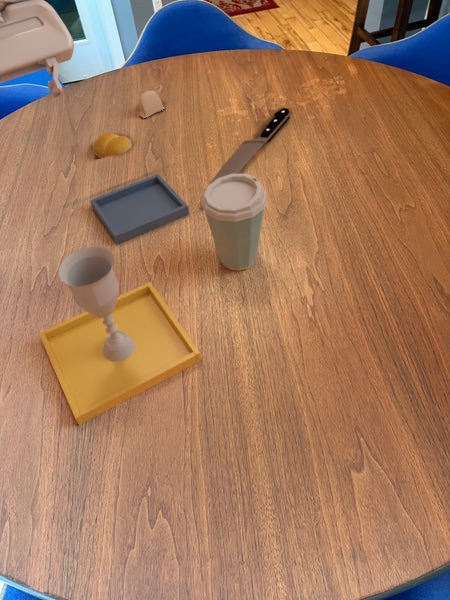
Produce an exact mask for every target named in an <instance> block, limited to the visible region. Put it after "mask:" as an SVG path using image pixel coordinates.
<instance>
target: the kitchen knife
mask: <svg viewBox="0 0 450 600" xmlns="http://www.w3.org/2000/svg"><path fill="white" fill-rule="evenodd" d="M290 113H291V112H290V109H288V108H287V107H283V108H281V109H279V110H278V111H275V112H274V113H273V118H272V119H271V120H270V121H269V122H268V123H267V125H266V126H265V128H264V129H263V130H262V132H261V133H260V135H259V137H257V138H253V139H245V140H243V141H242V143H241V145H240V146H239V147H238V148H237V149H236V150H235V152H233V154H232V155H231V156H230V158H228V160H226V162H225V163H224V164H223V166H222V167H221V168H220V169H219V171H218V172H217V173H216V175H215V176H214V177H213V179H212V180H211V182H210V184H211V183H212V182H214V181H215V180H216V179H218V178H220V177H223V176H226V175H229V174H240V172H241V171H242V170H243V169H244V168H245V166H247V164H248V163H249V162H250V161H251V160H252V159H253V157H254V156H255V155H256V154H257V153H258V152H259V150H261V148H262V147H263V146H264V145H266V144H267V142H271V141H272V139H274V137H275V136H276V135H277V134H278V133H279V131H281V129H282V128H283V127H284V126H285V125H286V124H287V122H288V121H289V120H290V118H291V114H290ZM210 184H209V185H210ZM199 210H200V211H201V210H203V207H202V205H201V204H200V208H199Z"/></svg>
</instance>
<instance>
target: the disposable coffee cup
mask: <svg viewBox="0 0 450 600" xmlns="http://www.w3.org/2000/svg"><path fill="white" fill-rule="evenodd" d="M211 182H212V181H211ZM211 182H210V183H211ZM267 201H268V195H267V192H266V190H265V189H264V186H263V184H262V182H261V181H260V179H258V178H257V177H256V176H254V175H251V174H248V173H238V174H229V175H226V176H223V177H220V178H218V179H216V180H215V181H214V182H212V183H211V184H208V185H207V187H206V188H205V189H204V191H203V194H202V196H201V198H200V206H201V205H202V207H203V208H202V210H203V212H204V214H205V217H206V220H207V223H208V226H209V229H210V232H211V235H212V239H213V242H214V246H215V248H216V252H217V254H218V257H219V260H220V262H221V264H222V265H223V266H224V267H225V268H227V270H230V271H237V272H239V271H243V270H247V269H249V268H250V267H252V266H253V265H254V264H255V262H256V260H257V257H258V254H259V253H258V252H259V246H260V245H259V244H260V238H261V233H262V225H263V219H264V212H265V209H266V204H267Z"/></svg>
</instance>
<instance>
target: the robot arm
mask: <svg viewBox="0 0 450 600" xmlns="http://www.w3.org/2000/svg"><path fill="white" fill-rule="evenodd" d="M74 49H75V41H74V39H73V36H72V35H71V33H70V31H69V29H68V28H67V26H66V24H65V23H64V21H63V20H62V19H61V17H60V16H59V14H58V12H57V11H56V10H55V9H54V7H53V6H52V5H51V4H49V2H47V1H45V0H0V84H2V83H5V82H8V81H11V80H14V79H17V78H20V77H22V76H25V75H29V74H32V73H35V72H38V71H41V70H44V69H46V71H47V73H48V74H49V75H52V79H51V80H48V81H47V89H48V90H49V91H48V92H49V93H51V97H53V98H57V97H61V96H63V95H64V94H65V93H64V87H63V86H62V84H61V82H60V80H59V64H62V63H64V62H68V61H71V59H72V57H73V55H74V51H75V50H74Z"/></svg>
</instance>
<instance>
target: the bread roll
mask: <svg viewBox="0 0 450 600" xmlns="http://www.w3.org/2000/svg"><path fill="white" fill-rule="evenodd" d="M131 148H133V145H132V141H131V140H130V139H129V138H128V137H127V136H124V135H119V134H118V135H117V134H116V133H113V132H106V133H103V134H101V135H99V136H98V137H97V138H96V140H95V141H94V142H93V144H92V151H93V154H94V155H96V157H98V158H100V159H104V158H107V157H115V156H119V155H122V154H124V153H127V151H129V150H130V149H131Z"/></svg>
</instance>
